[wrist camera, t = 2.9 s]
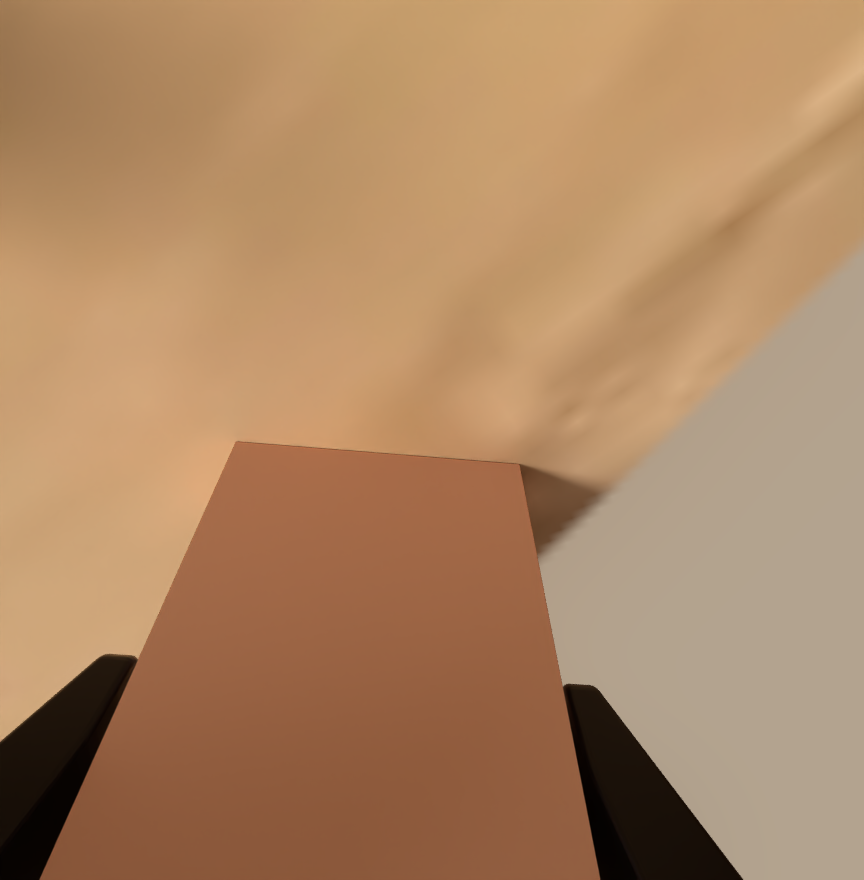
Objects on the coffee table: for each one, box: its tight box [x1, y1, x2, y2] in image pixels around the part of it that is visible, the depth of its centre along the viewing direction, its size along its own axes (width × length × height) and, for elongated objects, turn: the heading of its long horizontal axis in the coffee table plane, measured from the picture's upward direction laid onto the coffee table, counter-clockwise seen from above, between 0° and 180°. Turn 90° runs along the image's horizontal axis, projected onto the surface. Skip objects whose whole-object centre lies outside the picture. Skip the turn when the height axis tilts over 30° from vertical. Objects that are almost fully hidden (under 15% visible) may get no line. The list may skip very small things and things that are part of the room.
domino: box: [40, 442, 600, 880], centre depth 9 cm, size 2×5×10 cm, turn 84°
